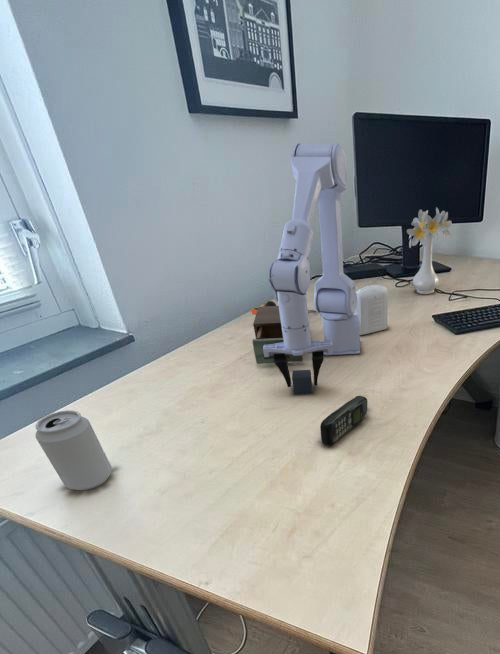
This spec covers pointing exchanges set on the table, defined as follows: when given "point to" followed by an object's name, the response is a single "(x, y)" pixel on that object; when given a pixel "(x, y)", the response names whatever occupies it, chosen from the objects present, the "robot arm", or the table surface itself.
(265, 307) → the cabinet
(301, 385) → the block
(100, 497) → the table surface
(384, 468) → the table surface
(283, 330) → the robot arm
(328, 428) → the mobile phone
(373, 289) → the white rounded slab
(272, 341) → the drawer
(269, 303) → the headphones
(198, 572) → the table surface
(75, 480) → the can
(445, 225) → the flower vase
